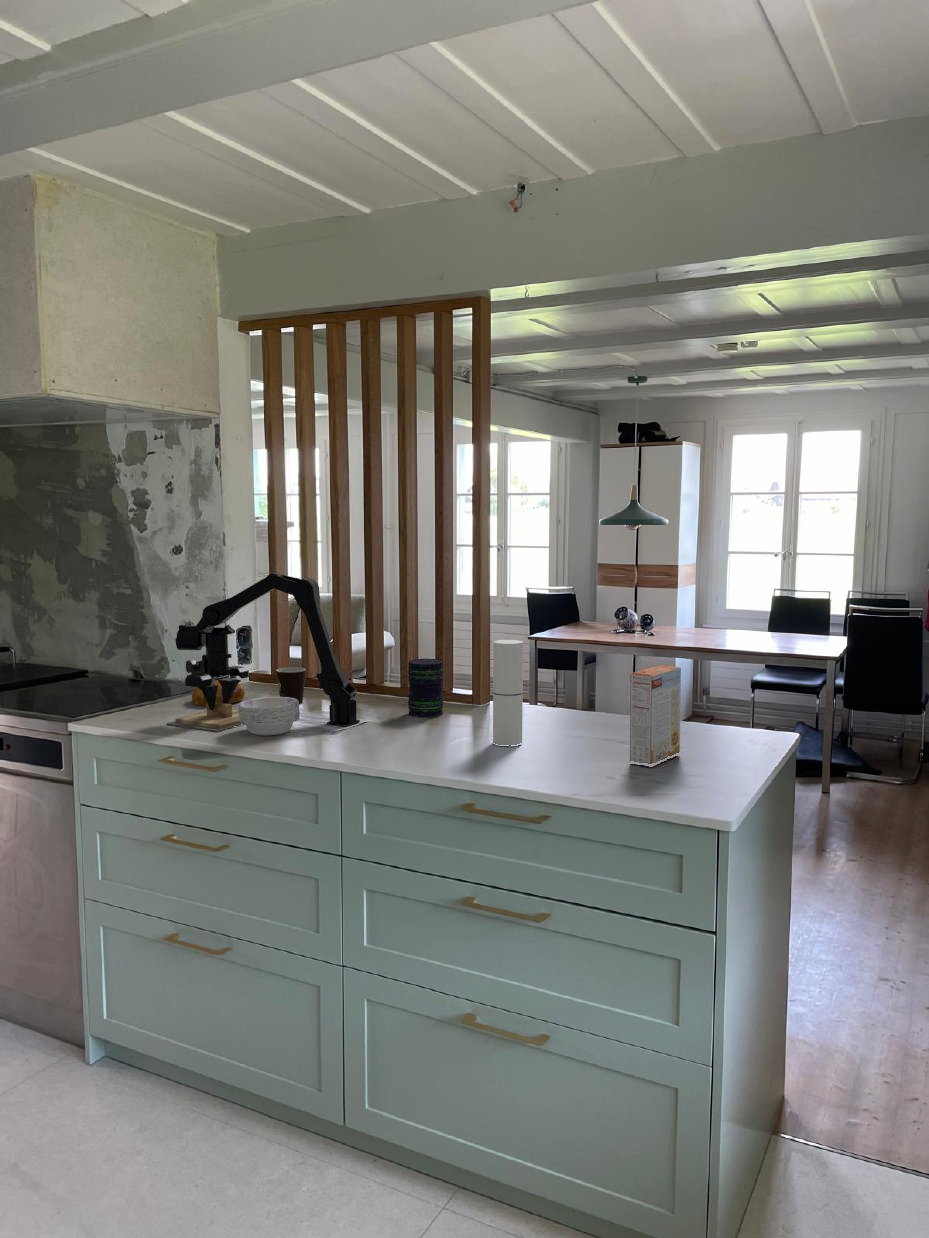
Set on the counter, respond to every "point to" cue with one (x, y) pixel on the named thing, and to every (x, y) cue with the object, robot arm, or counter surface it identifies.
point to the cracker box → (655, 713)
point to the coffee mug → (291, 682)
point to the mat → (199, 726)
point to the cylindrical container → (507, 692)
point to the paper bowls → (269, 715)
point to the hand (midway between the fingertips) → (218, 708)
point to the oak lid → (213, 717)
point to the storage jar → (425, 688)
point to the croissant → (200, 698)
